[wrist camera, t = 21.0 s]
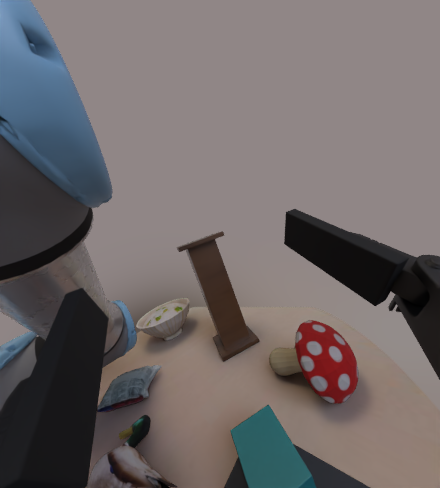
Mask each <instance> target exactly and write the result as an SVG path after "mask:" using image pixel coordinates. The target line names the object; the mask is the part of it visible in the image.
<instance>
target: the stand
mask: <svg viewBox="0 0 440 488" xmlns="http://www.w3.org/2000/svg"><path fill="white" fill-rule="evenodd" d="M223 235H224V233H223V232H219V233H216V234H212V235H209V236H206V237H204V238H201V239H198V240H196V241H193V242H190V243H187V244H185V245H182V246H179V247H177V250H178V251H179V252H181V251H183V250H186V252H187V254H188V256H189V260H190V262H191V265H192V267H193V270H194V273H195V275H196V278H197V280H198V283H199V286H200V289H201V291H202V293H203V297H204V299H205V302H206V305H207V307H208V310H209V313H210V315H211V318H212V321H213V323H214V326H215V328H216V331H217V334H218V335H216V336H214V337H213V339H214V341H215V344H216V346H217V348H218V350H219V353H220V355H221V357H222V359H223V362H224V361H226V360H227V359H229V358H231V357H233V356H235V355H236V354H238V353H240V352H242V351H243V350H245V349H247V348H249V347H250V346H252V345H254V344H256V343H258V342H259V339H258V337H257V336H256V335H255V334H254V333H253V332H252V331H251V330H250V329H249V328H248V327H247V326H246V324H245V321H244V319H243V316H242V313H241V310H240V307H239V305H238V302H237V299H236V297H235V294H234V291H233V288H232V285H231V283H230V280H229V277H228V274H227V271H226V269H225V266H224V263H223V260H222V258H221V255H220V252H219V249H218V247H217V244H216V241H215V239H216V238H218V237H221V236H223Z"/></svg>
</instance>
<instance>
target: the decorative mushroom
mask: <svg viewBox="0 0 440 488" xmlns="http://www.w3.org/2000/svg"><path fill="white" fill-rule="evenodd" d="M269 361H270V365H271V368H272V369H273V370H274V371H275V372H276V373H277V374H279V375H291V374H294V373H297V372H303V375H304V377H305V378H306V380H307V381H308V383H309V384H310V386H311V387H312V389H313V390H314V391H315V393H316V394H318V395H319V396H320V397H322V398H323V399H324V400H325V401H328V402H330V403H342V402H345V401H346V400H347V399H348V398H349V397H350V396H351V394H352V393H353V392H354V390H355V389H356V386H357V382H358V367H357V362H356V359H355V356H354V353H353V352H352V350H351V348H350V346H349V345H348V343H347V342H346V341H345V340H344V338H343V337H342V336H341V335H340V334H339V333H338V332H336V331H335V330H334V329H333V328H331V327H330V326H328V325H326V324H323V323H320V322H317V321H313V320H308V321H306V322H304V323H302V324H301V325H300V326H299V328H298V330H297V332H296V342H295V348H291V349H289V348H277V349H274V350H273V351H272V353H271V354H270V358H269Z"/></svg>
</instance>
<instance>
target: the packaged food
mask: <svg viewBox="0 0 440 488" xmlns="http://www.w3.org/2000/svg"><path fill="white" fill-rule="evenodd" d="M160 368H161V366H159V365H158V366H157V365H154V366H152V367H150V366H145V367H142V368H139V369H135V370H132V371H130V372H126V373H124V374H122V375H120V376H118V377H117V378H116V379H114V380H113V381H112V383H111V384H110V386H109V388H108V390H107V392H106V394H105V396H104V397H103V400H102V401H101V403H100V405H99V406H98V408H97V412H102V411H104V412H109V411H112V410H114V409H117V408H119V407H122V406H126V405H130V404H133V403H137V402H140V401H142V400H143V398H146V397H148V396H149V394H148V391H147V390H148V387H149V385H150V383H151V381H152V379H153V378H154V376H155V375H156V373H157V371H158V370H159V369H160Z"/></svg>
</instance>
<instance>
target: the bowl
mask: <svg viewBox="0 0 440 488" xmlns="http://www.w3.org/2000/svg"><path fill="white" fill-rule="evenodd" d="M188 312H189V299H188V298H179V299H175V300H172V301H169V302H167V303H164V304H162V305H160V306H158V307H156V308H155V309H153V310H151V311H150V312H148V313H147V314H145V315H144V316H143V317H142V318H141V319H140V320H139V321H138V323H137V325H136V327H137V328H139V329H140V330H141V331H143V332H145V333H147V334H149V335H152V336H155V337H158V338H159V337H164V338H163V340H165V341H167V340H171V339H173V338H175V337H177V336H178V335H179V334H180V333H181V332H182V328H181V326H182V325H183V323H184V322H185V320H186V317H187V314H188Z"/></svg>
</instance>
